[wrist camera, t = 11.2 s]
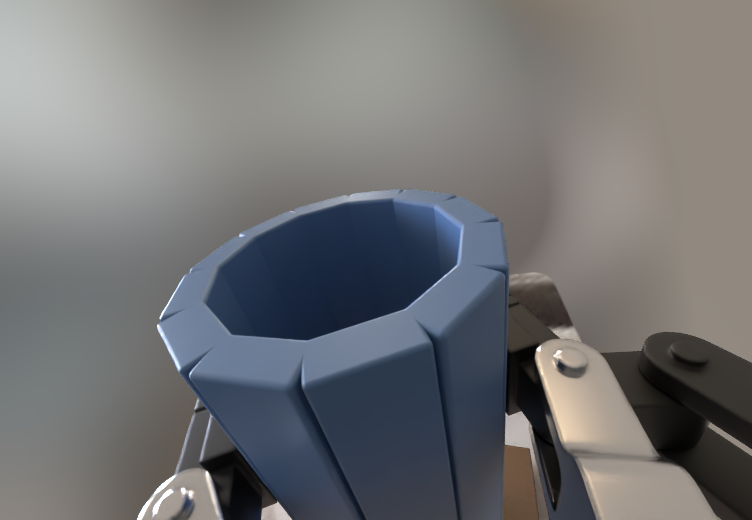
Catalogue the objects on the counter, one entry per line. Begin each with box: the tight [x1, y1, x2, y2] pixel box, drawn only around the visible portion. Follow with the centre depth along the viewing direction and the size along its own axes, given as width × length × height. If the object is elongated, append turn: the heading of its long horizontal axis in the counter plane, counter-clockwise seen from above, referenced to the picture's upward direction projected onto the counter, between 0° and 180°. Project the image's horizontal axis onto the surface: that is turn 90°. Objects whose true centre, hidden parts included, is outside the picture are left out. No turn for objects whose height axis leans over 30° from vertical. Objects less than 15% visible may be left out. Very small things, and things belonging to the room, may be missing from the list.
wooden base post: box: [503, 445, 539, 520], centre depth 19 cm, size 9×9×13 cm
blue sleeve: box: [157, 189, 509, 520], centre depth 8 cm, size 6×6×10 cm
